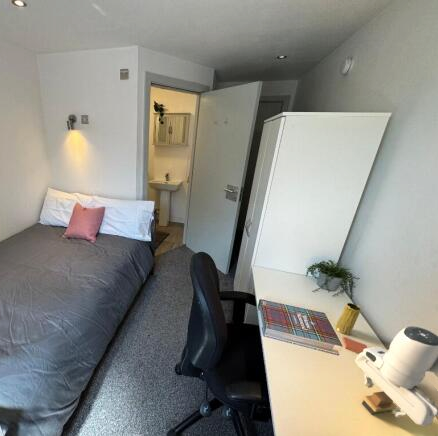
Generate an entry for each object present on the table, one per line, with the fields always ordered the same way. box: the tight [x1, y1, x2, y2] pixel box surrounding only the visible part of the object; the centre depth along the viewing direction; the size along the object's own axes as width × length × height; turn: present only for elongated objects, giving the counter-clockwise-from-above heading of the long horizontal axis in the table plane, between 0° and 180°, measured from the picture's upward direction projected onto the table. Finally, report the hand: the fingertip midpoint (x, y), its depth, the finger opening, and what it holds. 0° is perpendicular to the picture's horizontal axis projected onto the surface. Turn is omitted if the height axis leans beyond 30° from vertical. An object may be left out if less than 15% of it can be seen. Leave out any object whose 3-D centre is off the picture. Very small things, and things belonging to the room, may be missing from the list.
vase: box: [334, 302, 362, 336], centre depth 108 cm, size 6×6×14 cm
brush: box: [361, 390, 398, 415], centre depth 78 cm, size 8×4×6 cm, turn 97°
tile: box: [342, 336, 368, 355], centre depth 101 cm, size 8×6×1 cm
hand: (381, 399), depth 78 cm, fingers open, 8 cm apart
